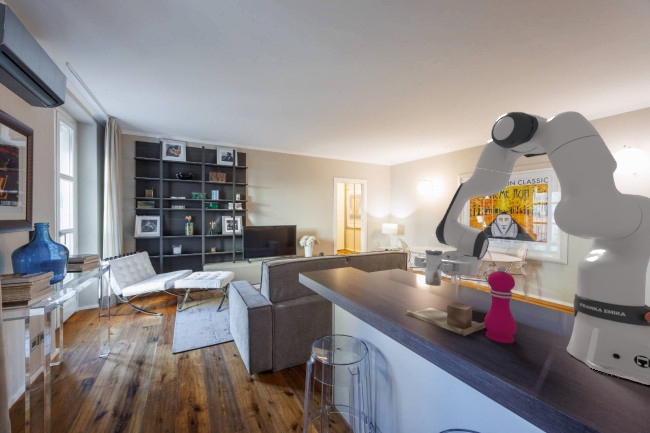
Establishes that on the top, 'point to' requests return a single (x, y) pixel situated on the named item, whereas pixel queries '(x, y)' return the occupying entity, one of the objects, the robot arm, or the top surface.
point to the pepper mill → (500, 307)
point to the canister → (433, 267)
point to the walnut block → (459, 315)
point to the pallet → (443, 320)
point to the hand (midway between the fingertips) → (432, 266)
